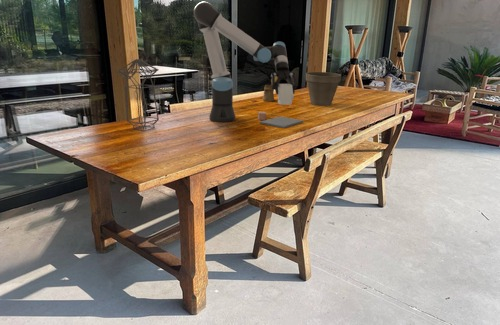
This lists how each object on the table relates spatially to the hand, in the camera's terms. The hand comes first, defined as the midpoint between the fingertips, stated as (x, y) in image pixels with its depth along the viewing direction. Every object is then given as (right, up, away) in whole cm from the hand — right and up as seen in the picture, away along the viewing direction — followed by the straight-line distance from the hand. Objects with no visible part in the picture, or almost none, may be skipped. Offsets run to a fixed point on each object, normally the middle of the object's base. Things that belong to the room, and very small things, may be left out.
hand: (286, 98), depth 214 cm
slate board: (-2, -13, +8) cm, 15 cm away
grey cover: (0, -2, +4) cm, 5 cm away
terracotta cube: (-13, -10, +16) cm, 23 cm away
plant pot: (+32, +7, +69) cm, 76 cm away
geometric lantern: (-76, -18, -12) cm, 79 cm away
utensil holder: (-4, +12, +80) cm, 81 cm away
